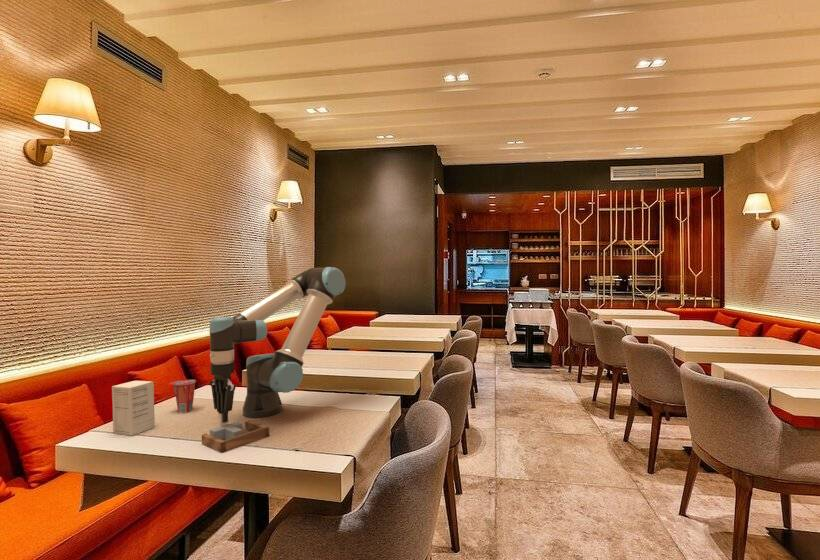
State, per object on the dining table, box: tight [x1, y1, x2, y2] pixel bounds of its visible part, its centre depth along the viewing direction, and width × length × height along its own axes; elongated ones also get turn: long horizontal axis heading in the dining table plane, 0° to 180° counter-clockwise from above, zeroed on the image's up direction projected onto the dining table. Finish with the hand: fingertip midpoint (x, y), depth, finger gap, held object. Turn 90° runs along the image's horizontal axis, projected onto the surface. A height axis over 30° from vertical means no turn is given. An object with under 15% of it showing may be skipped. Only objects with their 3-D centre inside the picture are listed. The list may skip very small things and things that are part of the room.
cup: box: [168, 379, 197, 414], centre depth 174 cm, size 9×8×12 cm
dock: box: [201, 420, 270, 454], centre depth 141 cm, size 12×17×3 cm
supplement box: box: [111, 380, 156, 437], centre depth 152 cm, size 10×9×17 cm
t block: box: [209, 421, 244, 440], centre depth 142 cm, size 9×10×4 cm
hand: (223, 430), depth 145 cm, fingers closed
